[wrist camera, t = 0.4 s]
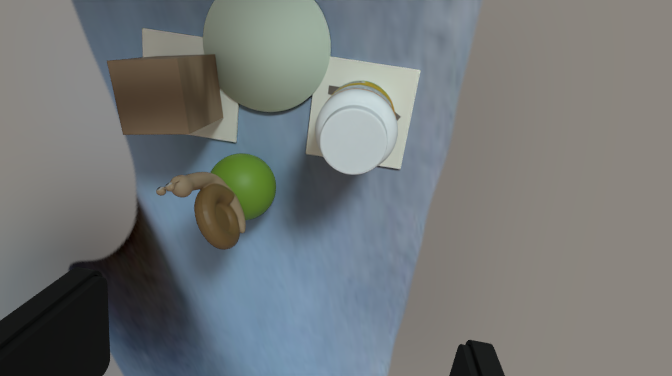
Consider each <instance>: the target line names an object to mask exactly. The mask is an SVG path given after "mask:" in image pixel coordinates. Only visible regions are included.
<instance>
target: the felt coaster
mask: <svg viewBox="0 0 672 376" xmlns="http://www.w3.org/2000/svg"><path fill="white" fill-rule="evenodd" d="M203 48H204V54H215V58H216V65H217V73H218V80H219V86H220V88H221V89H222V90H223V91H224V92H225V93H226V94H227V95H228V96H229V97H231V98H232V99H233V100H235V101H236V102H238V103H239V104H241V105H243V106H245V107H248V108H250V109H253V110H258V111H263V112H278V111H284V110H287V109H290V108H293V107H295V106H297V105H299V104H301V103H302V102H304V101H305V100H306V99H308V98H309V97H310V96H311V95H312V94H313V93H314V92H315V91H316V89H317V88H318V87H319V85H320V84H321V82H322V80H323V78H324V76H325V74H326V71H327V68H328V65H329V60H330V55H331V39H330V33H329V28H328V25H327V22H326V19H325V17H324V15H323V13H322V11H321V9H320V8H319V6H318V4H317V3H316V2H315V1H314V0H215V1H214V2H213V3H212V5H211V7H210V9H209V11H208V14H207V17H206V20H205V24H204V30H203Z"/></svg>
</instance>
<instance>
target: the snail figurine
mask: <svg viewBox="0 0 672 376" xmlns="http://www.w3.org/2000/svg"><path fill="white" fill-rule="evenodd" d="M165 188H166V189H165ZM198 189H200V191H199V193H198V195H197V197H196V199H195V204H194V211H195V217H196V221H197V224H198V227H199V229H200V231H201V233H202V234H203V236H204V237H205V239H206V240H207V241H208V242H209V243H210V244H211V245H213V246H214V247H216V248H219V249H223V250H225V249H230V248H232V247H233V246H235V244H236V243H237V242H238V239H239V236H240V233H244V232H245V227H246V223H245V220H250V219H254V218H256V217H258V216H260V215H261V214H263V213H264V212H265V211H266V210H267V209H268V208H269V207H270V205H271V204H272V202H273V200H274V197H275V193H276V182H275V177H274V175H273V172H272V171H271V169H270V168H269V166H268V165H267V164H266V163H265V162H264V161H263V160H261V159H260V158H258V157H256V156H253V155H250V154H234V155H230V156H228V157H225V158H224V159H222V160H221V161H219V162H218V163H217V164H216V165H215V166H214V168H213V169H212V171H211V173H208V172H197V173H192V174H188V175H185V176H184V175H179V176H177V177H174V178H172V180H171V182H170V183H168V184H166V186H165V187H159V188H158V189H157V190H156V193H157V194H158V195H160V196H162V195H164V194H165V193H166V190H167V191H172V193H173V194H174V195H176V196H178V197H187V196H188V195H190V193H191V192H192V191H193V190H198Z"/></svg>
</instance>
